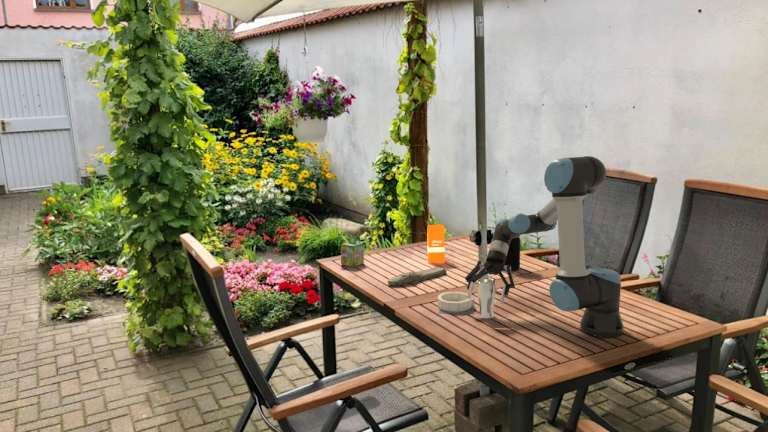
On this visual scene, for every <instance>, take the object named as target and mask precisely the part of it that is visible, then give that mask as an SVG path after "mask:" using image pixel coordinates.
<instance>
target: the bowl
mask: <svg viewBox="0 0 768 432" xmlns="http://www.w3.org/2000/svg"><path fill="white" fill-rule="evenodd" d="M467 294H468V292H461V291H448V292H447V291H446V292H442V293H439V294H438V295H437V309H439V310H440V309H441V310H443V311H447V312H463V311H467V310H469V309H471V307H472V300H473V297H472V295H471V299H468V297H467Z"/></svg>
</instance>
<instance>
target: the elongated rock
mask: <svg viewBox="0 0 768 432" xmlns="http://www.w3.org/2000/svg"><path fill="white" fill-rule="evenodd" d="M446 273H447V270H446V268H445V267H432V268H429V269H428V268H427V269H424V270H420V271H409V272H404V273H402V274H398V275H396V276H393V277H391V278H389V279H388V280H387V285H388V284H389V285H388V286H394V287H398V286H399V287H400V286H406V285H405V284H408V285H412V284H411V283H413V284H415V283H418V281H419V282H422V281H423V280H429V279H431V278H432V279H433V278H437V276H438V277H441V276H443V275H446ZM440 275H441V276H440ZM414 282H415V283H414Z"/></svg>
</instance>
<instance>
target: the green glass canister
mask: <svg viewBox="0 0 768 432" xmlns="http://www.w3.org/2000/svg"><path fill="white" fill-rule="evenodd" d="M352 240H353V241H352ZM364 245H365V244H364V242H358V241H357V237H354V236H349V237H348V241H347V242H344V243H341V244H340V265H341V264H343V265H342V266H344V265H347V266H346V267H349V266H356V267H358V266H357V265H359V266H361V265H364V264H365V257H364V256H365V252H364V250H365V249H364ZM363 263H364V264H363ZM360 264H361V265H360Z"/></svg>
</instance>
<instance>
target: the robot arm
mask: <svg viewBox="0 0 768 432" xmlns="http://www.w3.org/2000/svg"><path fill="white" fill-rule="evenodd" d="M606 178H607V170H606V166H605V164H604V163H603V161H601V160H600V159H599V158H597V157H595V156H591V155H590V156H588V155H586V156H576V157H575V156H574V157H562V158H557V159H554V160H552V161H551V162H550V163H548V166H547V167H546V169H545V171H544V177H543V180H544V185H545V187H546V189H547V191H548V192H550V193H551V197H552V199H551V200H550V201H549V202H548V203H547V204H546V205H545V206H544V207H542V208H541V210H539V211H538V212H537V213H534V214H525V213H522V212H520V213H516V214H514V215H513V216H511V217H509V219H506V218H503V219H498V221H497V222H496V224H495V226H494V231H493V235H492V239H491V242H490V246H489V248H488V253H487V255H486V260H485V262H481V260H478V261H477V263H476V265H475V266H474V267H473V268H472V270H471V271H470V272H469V273H468V274H467V275H466V276H465V277H464V279H465V281H466V282H467V287H466V289H467V297H468V299H471V296H472V295H473V293H474V288H475V283H476V282H478V280H480V279H482V278H483V277H484V276H486V275H493V276H497V275H498V276H499V277H500V279H501V280H502V282H503V283H504V285H503V286H502V291H501V294H500V295H501V296H500V298H499V302H500V304H502V305H503V304H504V302H505V299H506V297H508V296H509V293H510V289H515V287H516V285H515V282H514V278H513V275H512V271H511V266H510V264H508V265H504V264H505V260H506V256H507V253H508V249H509V245H510V242H511V240H512V239H513V238H515V237H517V236H518V235H520V236H522V235H527V234H528V235H529V234H533V233H541V232H549V231H552V230H554V229H556V226H557V235H558V254H559V255H558V256H559V259H558V260H559V268H558V270H557V271H555V279H554V280H552V281H551V283H550V284H549V290H548V291H549V296H550V298H551V302H552V303H553V304H554V306H556V307H557V308H558V310H561V311H563V312H577V311H579V310H583V309H585V310H584V312H583V314H582V317H581V319H580V322H579V323H580V324H579V329H580V330H582V333H584V332H585V333H584V334H586V333H587V334H586V335H589V334H591V335H590V336H592V335H596V336H602V337H601V338H604V337H611V338H616V337H615V336H617V337H620V336H622V335H623V334H624V331H625V330H624V323H623V320H622V316H621V313H620V305H621V303H620V302H621V286H622V283H621V280H622V279H621V274H620V273H619V272H618V271H615V270H612V269H608V268H604V267H588V268H586V260H585V259H586V257H585V254H586V253H585V233H584V231H585V230H584V211H583V210H584V209H583V208H584V207H583V201H584V199H585V198H586V197H587V196H588V195H592V194H594V193H595V192H596V191H598V190H599V189H600V188H601V187H602V186H603V185H604V182H605V181H606ZM504 269H505V270H506V272H507V276H508V279H509V283H508V280H507V279H506V277H505V275H504V274H503V272H502V271H504ZM622 333H623V334H622ZM621 334H622V335H621ZM619 335H620V336H619ZM596 336H595V337H596Z"/></svg>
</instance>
